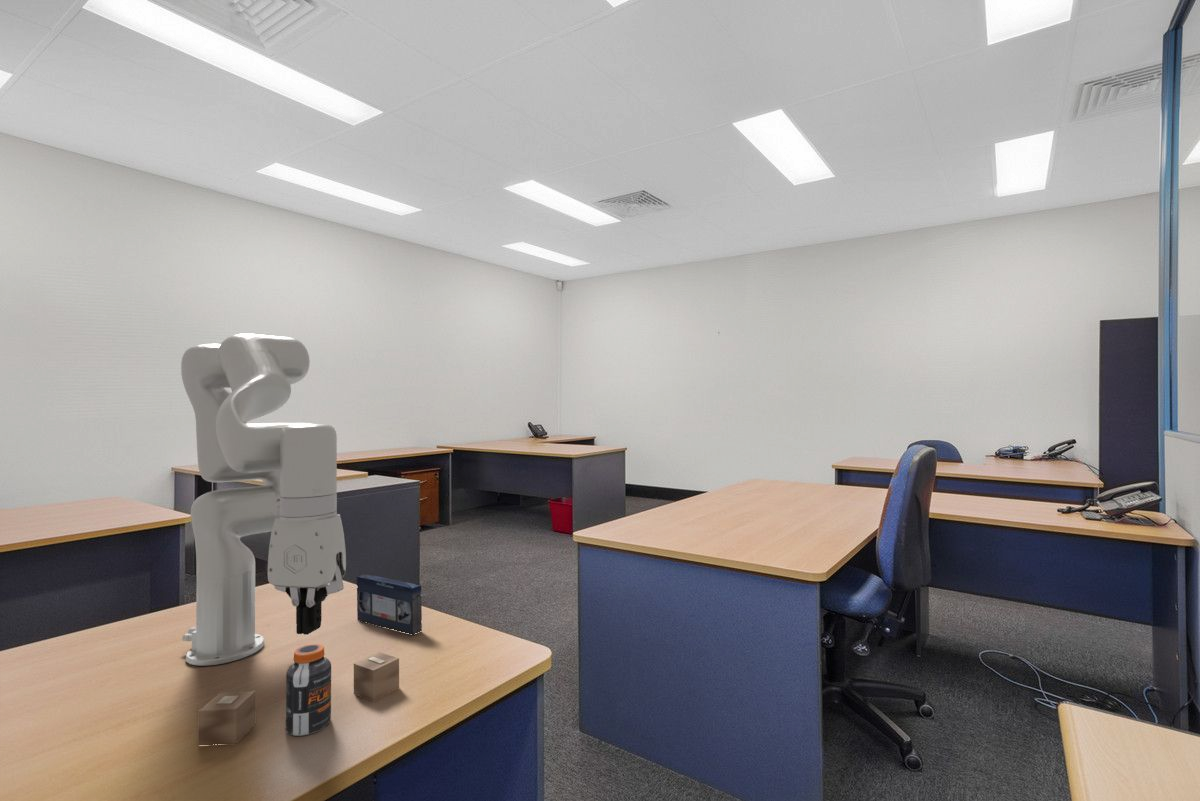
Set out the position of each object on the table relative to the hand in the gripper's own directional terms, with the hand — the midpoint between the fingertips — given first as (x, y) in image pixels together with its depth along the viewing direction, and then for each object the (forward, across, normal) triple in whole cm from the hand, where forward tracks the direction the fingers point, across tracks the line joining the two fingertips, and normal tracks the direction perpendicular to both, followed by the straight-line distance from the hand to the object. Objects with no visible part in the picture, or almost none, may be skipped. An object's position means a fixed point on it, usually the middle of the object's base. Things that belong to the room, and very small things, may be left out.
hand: (308, 630), depth 81 cm
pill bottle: (+14, 0, 0) cm, 14 cm away
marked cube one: (+14, -10, -4) cm, 18 cm away
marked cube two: (+14, +4, +11) cm, 18 cm away
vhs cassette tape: (+14, -10, +37) cm, 41 cm away
